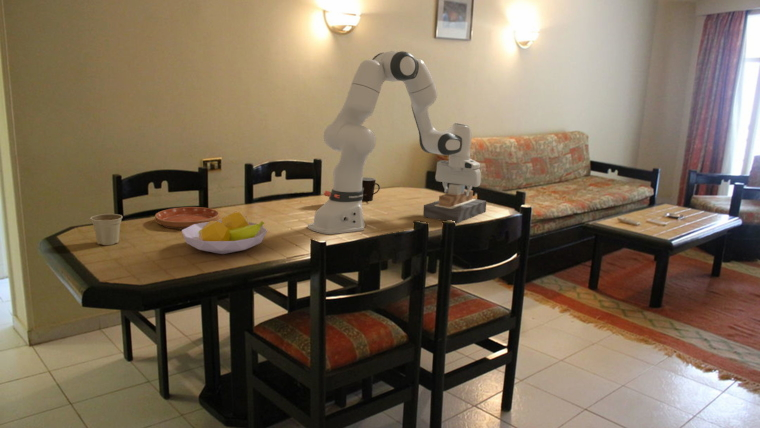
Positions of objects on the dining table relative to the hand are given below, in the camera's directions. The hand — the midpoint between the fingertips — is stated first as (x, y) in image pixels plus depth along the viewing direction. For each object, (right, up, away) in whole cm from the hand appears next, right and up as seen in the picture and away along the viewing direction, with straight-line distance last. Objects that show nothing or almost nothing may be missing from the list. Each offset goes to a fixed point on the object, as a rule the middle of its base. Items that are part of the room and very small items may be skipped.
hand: (456, 194), depth 243 cm
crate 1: (-1, 0, -2) cm, 2 cm away
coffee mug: (-39, -2, +23) cm, 45 cm away
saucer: (-105, -12, -30) cm, 110 cm away
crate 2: (+1, +1, +2) cm, 2 cm away
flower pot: (-121, -18, -59) cm, 136 cm away
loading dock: (0, -9, +2) cm, 9 cm away
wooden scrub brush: (0, -3, +1) cm, 4 cm away
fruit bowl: (-83, -20, -59) cm, 104 cm away
